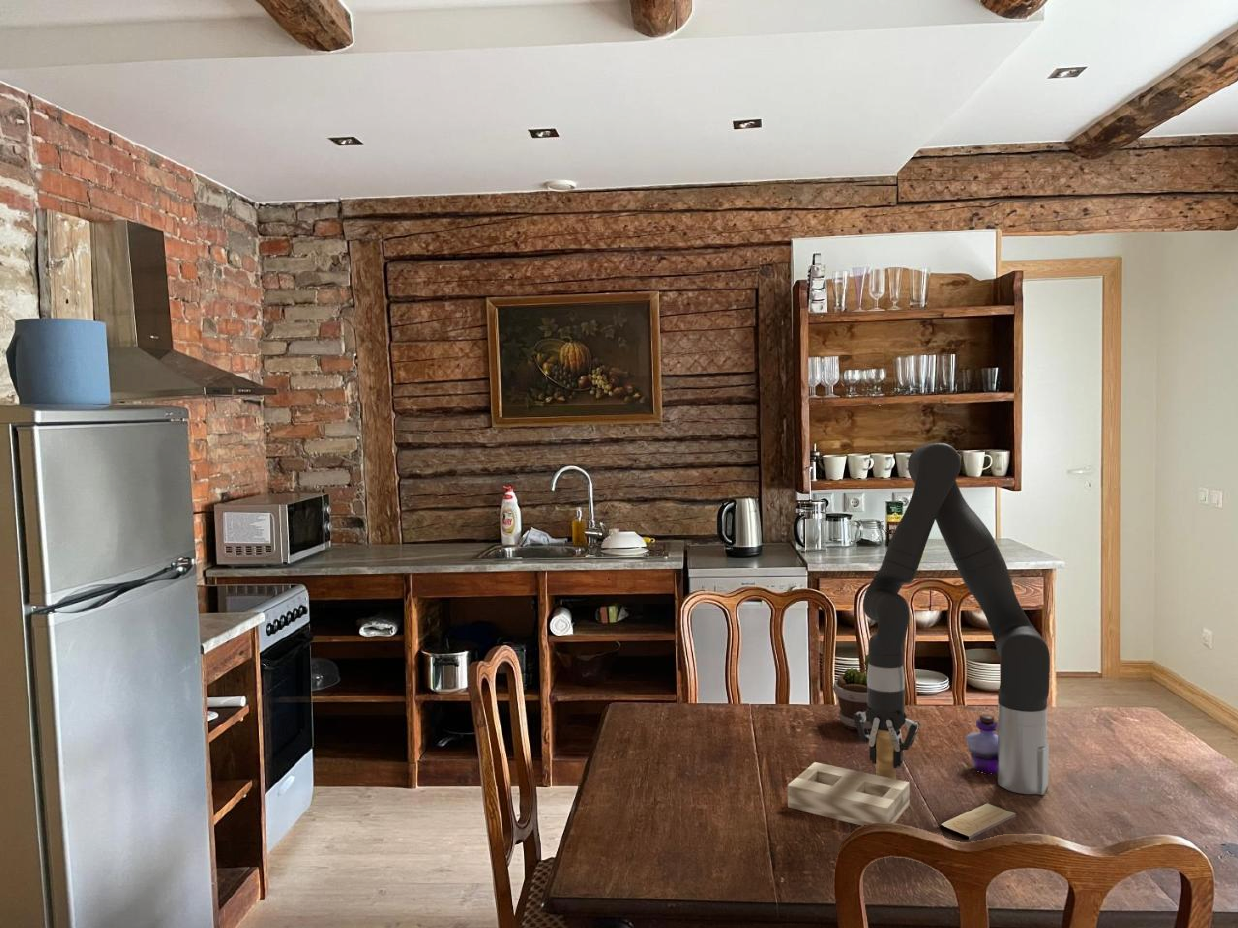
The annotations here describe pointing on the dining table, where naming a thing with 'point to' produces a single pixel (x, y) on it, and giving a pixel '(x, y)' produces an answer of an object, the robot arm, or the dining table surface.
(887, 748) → the peg
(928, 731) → the dining table surface
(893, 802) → the hole block
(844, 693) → the flowerpot
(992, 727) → the potion bottle
